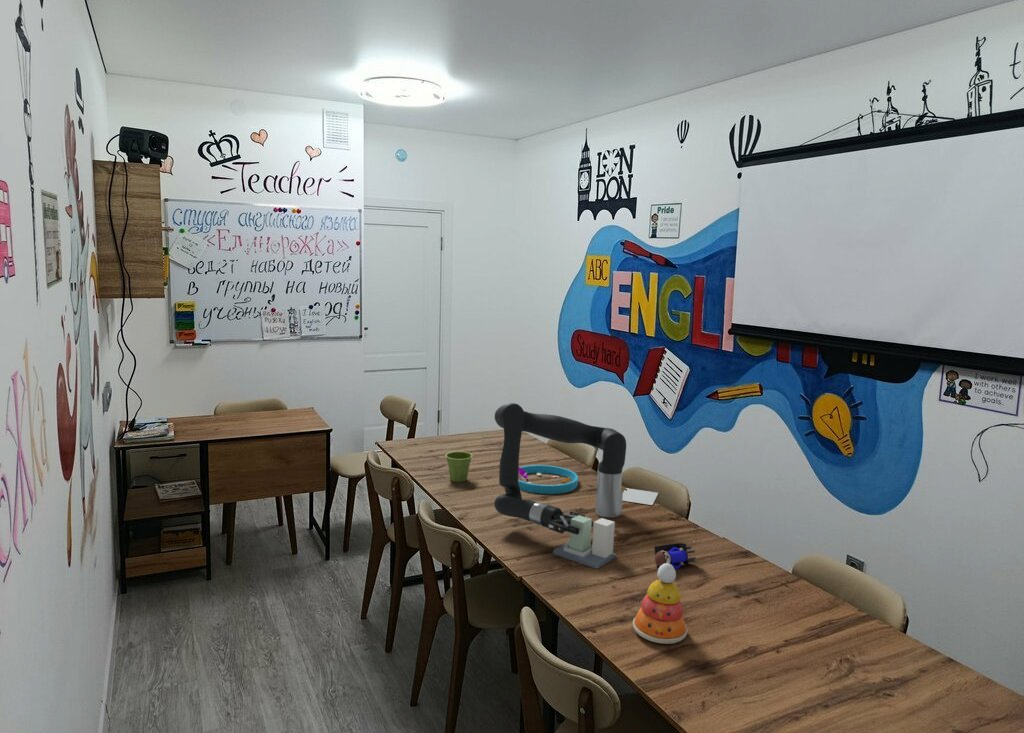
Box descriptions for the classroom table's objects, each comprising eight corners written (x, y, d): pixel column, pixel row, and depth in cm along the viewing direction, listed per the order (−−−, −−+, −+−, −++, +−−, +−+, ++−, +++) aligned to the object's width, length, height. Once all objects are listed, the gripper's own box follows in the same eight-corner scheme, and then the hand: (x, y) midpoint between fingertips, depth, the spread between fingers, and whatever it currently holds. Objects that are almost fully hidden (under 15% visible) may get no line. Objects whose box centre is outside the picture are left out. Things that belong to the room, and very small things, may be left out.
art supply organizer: (514, 470, 325) (514, 458, 324) (579, 476, 321) (579, 463, 320) (504, 491, 296) (504, 478, 295) (575, 497, 292) (576, 483, 291)
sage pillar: (577, 546, 238) (579, 515, 236) (589, 550, 235) (591, 518, 233) (569, 550, 234) (570, 519, 232) (581, 554, 231) (583, 522, 229)
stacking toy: (627, 640, 182) (632, 569, 179) (637, 615, 195) (642, 548, 192) (683, 652, 177) (689, 580, 174) (690, 626, 190) (695, 558, 188)
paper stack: (595, 498, 292) (595, 496, 292) (608, 481, 315) (608, 479, 315) (652, 506, 284) (652, 505, 284) (661, 488, 307) (661, 487, 307)
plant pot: (444, 475, 312) (445, 451, 310) (471, 476, 314) (472, 451, 312) (444, 484, 301) (445, 458, 299) (472, 484, 302) (473, 459, 300)
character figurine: (698, 569, 227) (659, 575, 222) (685, 558, 234) (646, 564, 228) (701, 546, 226) (661, 552, 220) (688, 536, 232) (649, 542, 227)
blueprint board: (572, 543, 243) (573, 536, 243) (615, 557, 233) (616, 550, 233) (553, 553, 234) (553, 546, 234) (597, 568, 224) (597, 561, 223)
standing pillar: (599, 549, 236) (601, 518, 234) (612, 553, 233) (614, 521, 231) (591, 553, 232) (593, 522, 230) (605, 558, 229) (607, 526, 227)
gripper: (534, 510, 236) (574, 522, 226) (557, 500, 247) (597, 511, 237) (533, 531, 237) (573, 545, 227) (556, 520, 248) (596, 532, 238)
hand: (585, 527), depth 232 cm, fingers open, 8 cm apart
